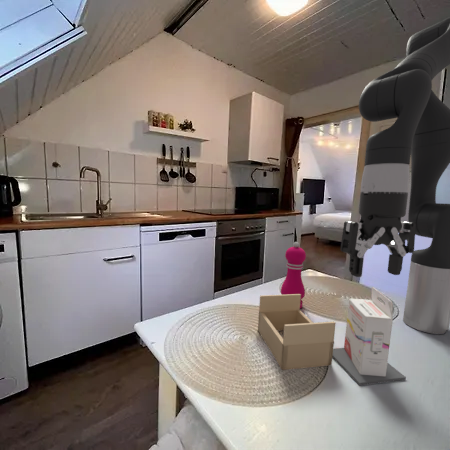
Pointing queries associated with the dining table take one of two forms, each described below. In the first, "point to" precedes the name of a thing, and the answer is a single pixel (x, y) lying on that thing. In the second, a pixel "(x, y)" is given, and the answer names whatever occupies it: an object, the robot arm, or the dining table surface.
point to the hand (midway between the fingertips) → (374, 274)
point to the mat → (349, 367)
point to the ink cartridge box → (369, 333)
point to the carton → (294, 333)
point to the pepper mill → (294, 272)
